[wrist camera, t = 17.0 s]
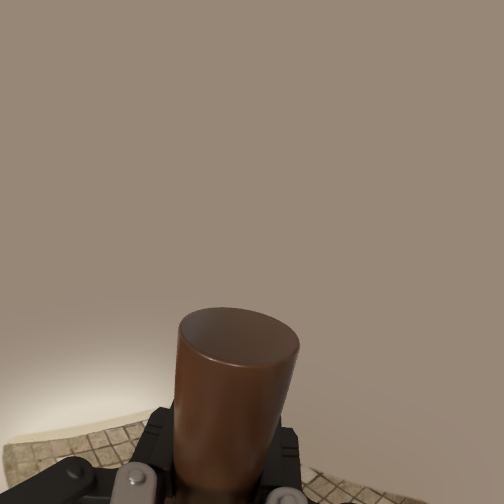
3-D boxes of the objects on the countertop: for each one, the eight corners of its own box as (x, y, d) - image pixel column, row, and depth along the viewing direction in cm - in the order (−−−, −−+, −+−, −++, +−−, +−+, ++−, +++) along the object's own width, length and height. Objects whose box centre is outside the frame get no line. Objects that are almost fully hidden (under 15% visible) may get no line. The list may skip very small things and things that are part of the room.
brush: (270, 519, 12) (352, 314, 9) (273, 576, 8) (408, 391, 5) (144, 502, 11) (130, 280, 9) (129, 557, 7) (60, 340, 5)
